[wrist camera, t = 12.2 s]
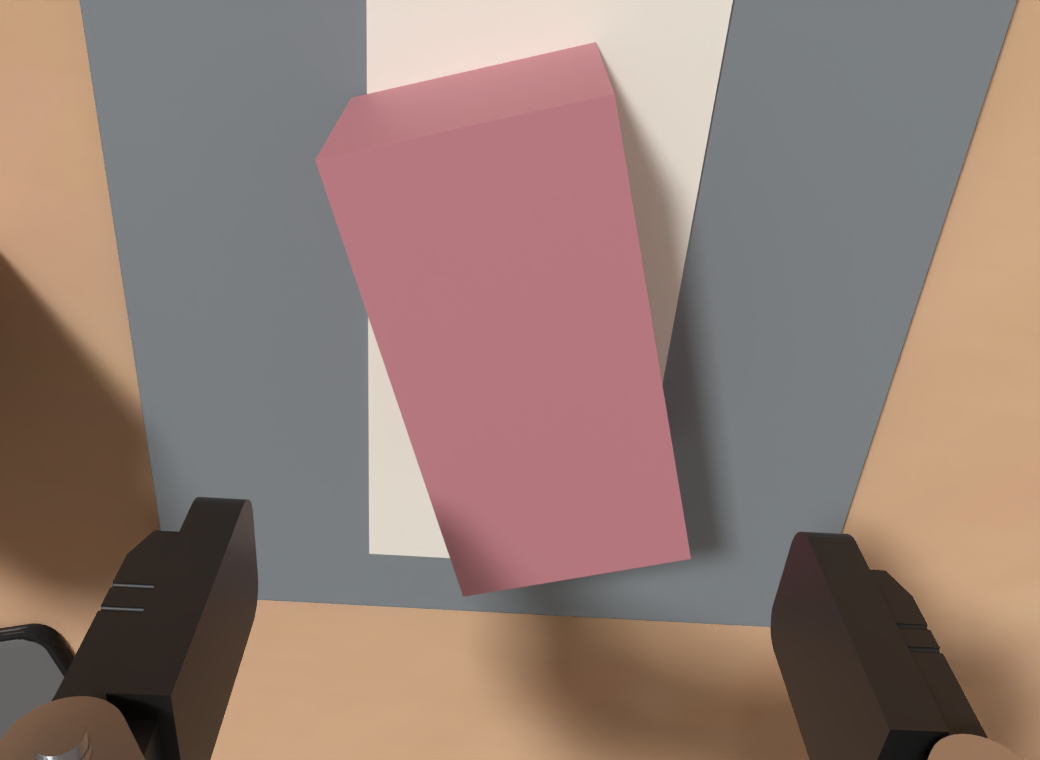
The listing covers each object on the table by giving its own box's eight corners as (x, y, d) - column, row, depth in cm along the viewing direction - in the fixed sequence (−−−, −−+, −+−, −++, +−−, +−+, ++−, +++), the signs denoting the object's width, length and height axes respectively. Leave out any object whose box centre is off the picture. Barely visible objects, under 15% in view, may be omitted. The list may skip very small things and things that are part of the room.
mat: (174, 584, 26) (169, 597, 26) (45, -284, 16) (33, -287, 16) (805, 618, 27) (810, 631, 27) (1067, -187, 17) (1082, -187, 16)
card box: (351, 97, 19) (314, 159, 15) (595, 42, 18) (614, 94, 15) (470, 485, 24) (463, 596, 20) (665, 450, 23) (690, 558, 20)
